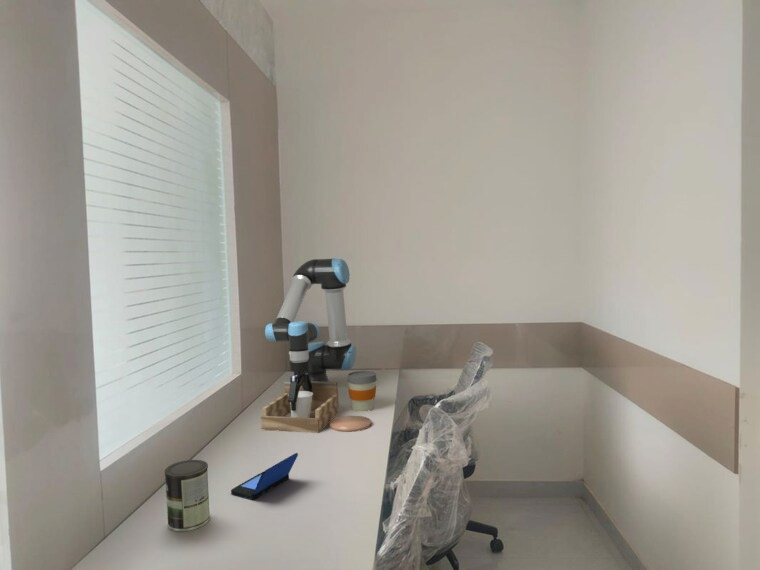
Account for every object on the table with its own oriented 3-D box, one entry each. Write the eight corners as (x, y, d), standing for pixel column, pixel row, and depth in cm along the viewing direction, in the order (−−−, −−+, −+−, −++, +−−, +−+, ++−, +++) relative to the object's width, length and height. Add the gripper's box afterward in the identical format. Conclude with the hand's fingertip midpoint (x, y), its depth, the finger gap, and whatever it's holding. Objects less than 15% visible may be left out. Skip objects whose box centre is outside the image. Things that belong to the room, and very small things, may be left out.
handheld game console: (265, 474, 167) (264, 444, 166) (300, 482, 160) (299, 451, 159) (228, 495, 153) (227, 463, 152) (265, 504, 146) (263, 471, 146)
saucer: (337, 417, 221) (337, 414, 221) (375, 419, 217) (375, 416, 217) (324, 430, 205) (324, 427, 205) (365, 432, 201) (365, 429, 201)
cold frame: (287, 410, 233) (286, 380, 232) (338, 412, 228) (337, 382, 227) (261, 429, 208) (259, 396, 208) (318, 432, 203) (316, 398, 202)
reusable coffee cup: (372, 403, 241) (371, 369, 240) (381, 410, 229) (380, 375, 228) (344, 406, 237) (343, 372, 236) (352, 414, 225) (351, 378, 224)
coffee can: (162, 533, 132) (158, 476, 131) (174, 513, 142) (171, 460, 142) (205, 530, 133) (202, 474, 132) (214, 510, 143) (211, 458, 142)
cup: (316, 417, 222) (315, 390, 222) (311, 425, 212) (310, 397, 212) (292, 417, 223) (291, 390, 223) (286, 425, 213) (285, 397, 213)
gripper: (302, 354, 229) (303, 404, 231) (277, 367, 205) (279, 422, 206) (318, 354, 228) (320, 404, 229) (296, 367, 203) (298, 423, 205)
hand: (301, 413), depth 218 cm, fingers open, 13 cm apart
